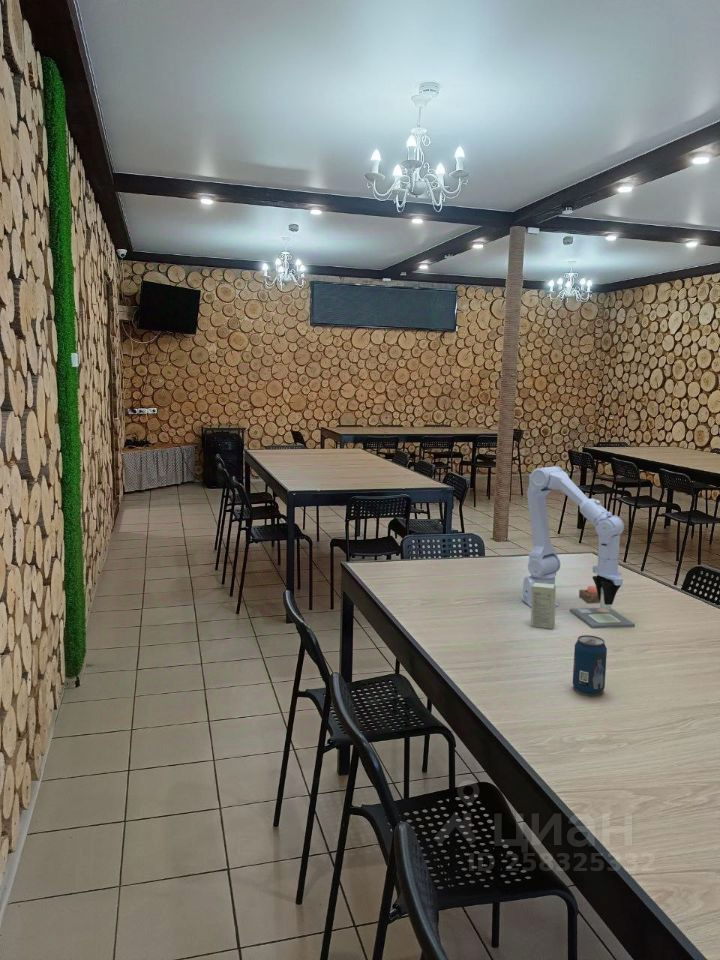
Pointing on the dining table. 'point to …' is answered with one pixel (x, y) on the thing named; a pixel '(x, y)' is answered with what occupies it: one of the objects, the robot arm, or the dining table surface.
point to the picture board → (601, 618)
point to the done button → (592, 590)
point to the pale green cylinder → (602, 604)
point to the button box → (588, 597)
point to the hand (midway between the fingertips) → (605, 602)
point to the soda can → (589, 665)
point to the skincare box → (543, 605)
